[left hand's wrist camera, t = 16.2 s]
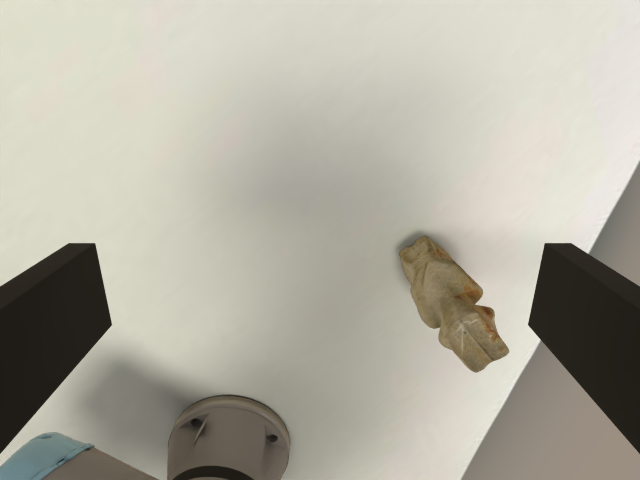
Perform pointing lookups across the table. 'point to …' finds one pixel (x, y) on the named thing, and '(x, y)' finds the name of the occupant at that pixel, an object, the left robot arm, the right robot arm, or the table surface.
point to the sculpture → (452, 304)
